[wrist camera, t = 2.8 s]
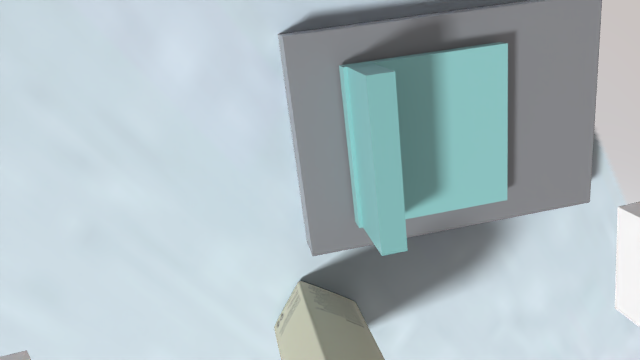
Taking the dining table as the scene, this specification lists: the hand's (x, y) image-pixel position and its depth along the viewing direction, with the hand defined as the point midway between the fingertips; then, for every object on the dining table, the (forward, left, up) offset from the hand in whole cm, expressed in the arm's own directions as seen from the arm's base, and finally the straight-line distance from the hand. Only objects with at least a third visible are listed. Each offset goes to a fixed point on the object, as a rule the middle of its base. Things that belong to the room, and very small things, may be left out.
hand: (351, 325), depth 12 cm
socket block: (+12, -2, -23) cm, 26 cm away
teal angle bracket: (+10, -2, -21) cm, 23 cm away
